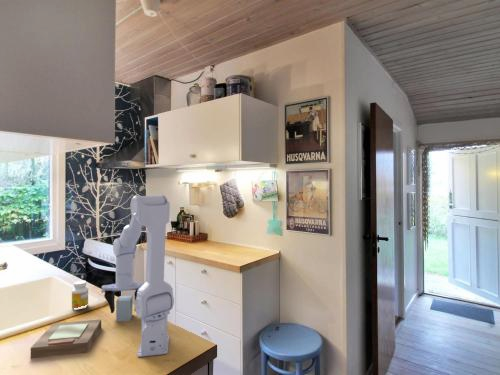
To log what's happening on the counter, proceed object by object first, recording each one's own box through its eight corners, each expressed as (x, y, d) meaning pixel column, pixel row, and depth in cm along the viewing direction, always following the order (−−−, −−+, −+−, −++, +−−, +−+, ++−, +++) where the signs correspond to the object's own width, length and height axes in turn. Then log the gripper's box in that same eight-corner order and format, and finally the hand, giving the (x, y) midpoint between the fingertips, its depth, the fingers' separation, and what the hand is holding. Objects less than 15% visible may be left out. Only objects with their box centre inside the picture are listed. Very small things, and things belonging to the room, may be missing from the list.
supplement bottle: (68, 308, 110) (68, 283, 110) (82, 303, 115) (82, 279, 115) (77, 312, 107) (77, 285, 107) (91, 306, 112) (91, 281, 112)
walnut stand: (87, 352, 82) (87, 340, 82) (30, 358, 79) (30, 346, 79) (101, 327, 96) (101, 318, 96) (53, 332, 93) (53, 322, 93)
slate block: (130, 320, 102) (130, 300, 101) (116, 321, 101) (116, 301, 100) (132, 314, 106) (132, 295, 106) (119, 315, 105) (119, 296, 105)
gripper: (147, 268, 108) (147, 304, 109) (105, 270, 105) (105, 307, 106) (145, 274, 102) (145, 313, 102) (99, 276, 98) (99, 316, 99)
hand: (124, 311), depth 103 cm, fingers open, 7 cm apart
